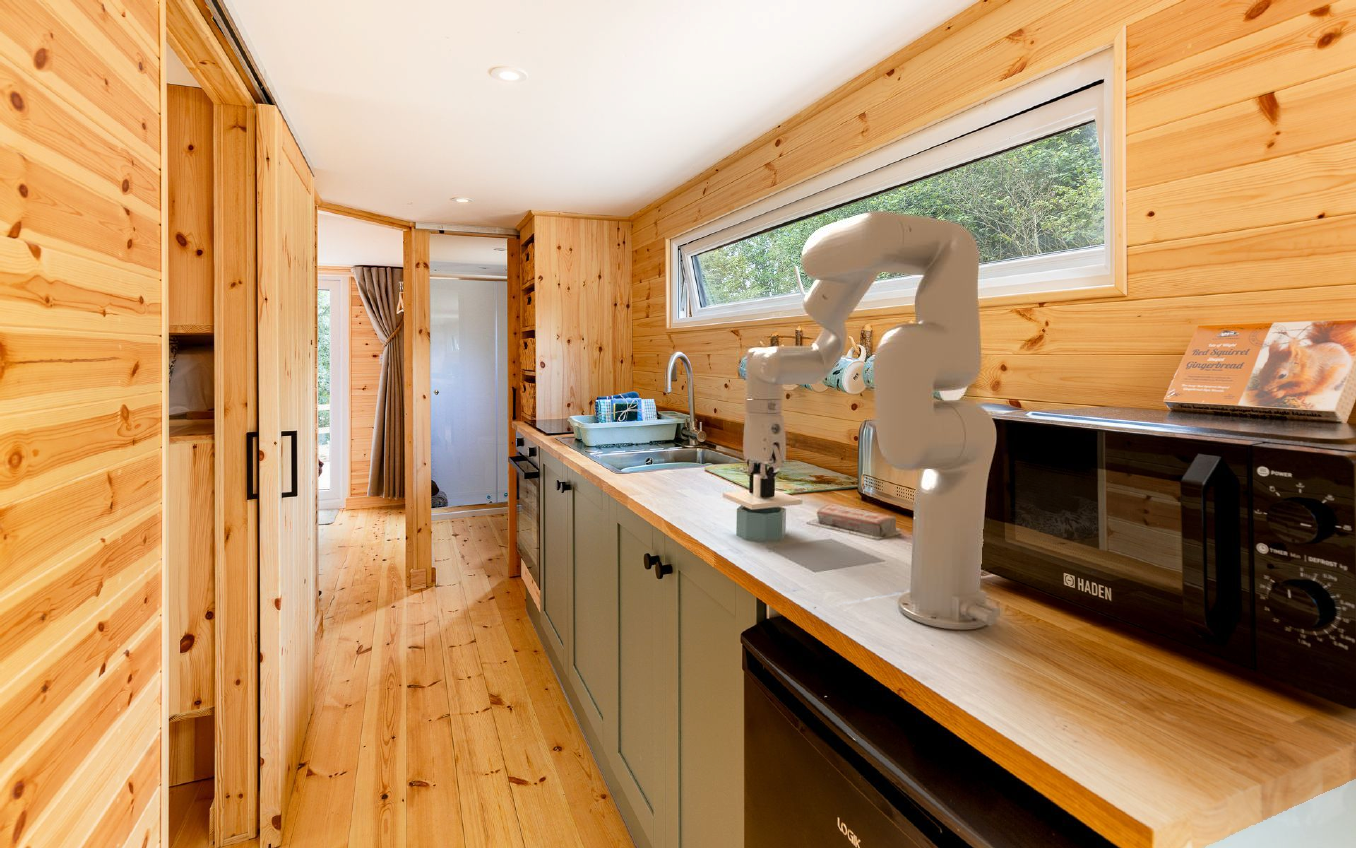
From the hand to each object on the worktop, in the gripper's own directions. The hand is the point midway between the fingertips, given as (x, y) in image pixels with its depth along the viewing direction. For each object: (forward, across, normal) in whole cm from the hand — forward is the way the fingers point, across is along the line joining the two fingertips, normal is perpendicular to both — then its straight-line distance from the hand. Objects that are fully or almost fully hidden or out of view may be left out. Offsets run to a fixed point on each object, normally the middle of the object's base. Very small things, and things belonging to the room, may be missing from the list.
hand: (761, 494), depth 136 cm
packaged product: (+10, -3, -22) cm, 24 cm away
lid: (+1, 0, 0) cm, 1 cm away
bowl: (+9, 0, 0) cm, 9 cm away
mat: (+9, -16, -4) cm, 19 cm away
